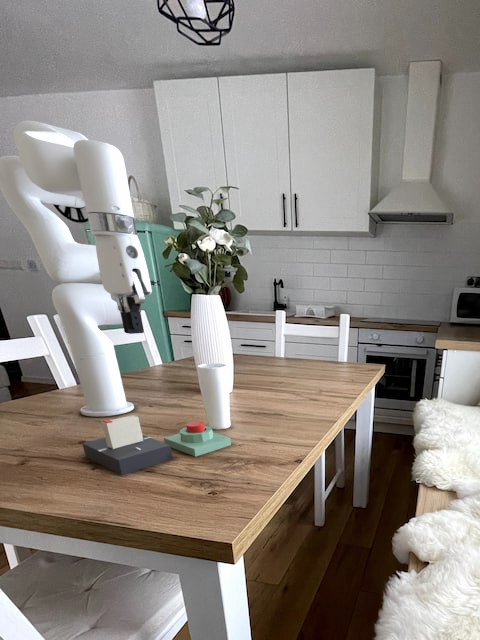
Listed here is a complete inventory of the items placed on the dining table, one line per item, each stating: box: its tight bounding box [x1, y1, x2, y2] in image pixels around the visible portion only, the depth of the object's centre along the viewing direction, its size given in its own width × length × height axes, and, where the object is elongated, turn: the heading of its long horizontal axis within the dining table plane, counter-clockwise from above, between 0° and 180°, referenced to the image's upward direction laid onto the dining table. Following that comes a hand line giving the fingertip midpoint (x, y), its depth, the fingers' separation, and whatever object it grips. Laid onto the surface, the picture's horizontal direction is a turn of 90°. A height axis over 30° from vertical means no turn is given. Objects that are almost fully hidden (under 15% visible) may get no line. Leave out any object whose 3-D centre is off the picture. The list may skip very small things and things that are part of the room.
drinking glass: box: [196, 363, 232, 431], centre depth 95 cm, size 7×7×15 cm
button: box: [185, 421, 205, 433], centre depth 85 cm, size 4×4×2 cm
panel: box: [81, 434, 173, 476], centre depth 78 cm, size 14×10×3 cm
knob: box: [101, 414, 143, 449], centre depth 77 cm, size 6×2×5 cm, turn 146°
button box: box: [163, 425, 232, 458], centre depth 86 cm, size 11×9×4 cm
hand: (134, 332), depth 81 cm, fingers closed
